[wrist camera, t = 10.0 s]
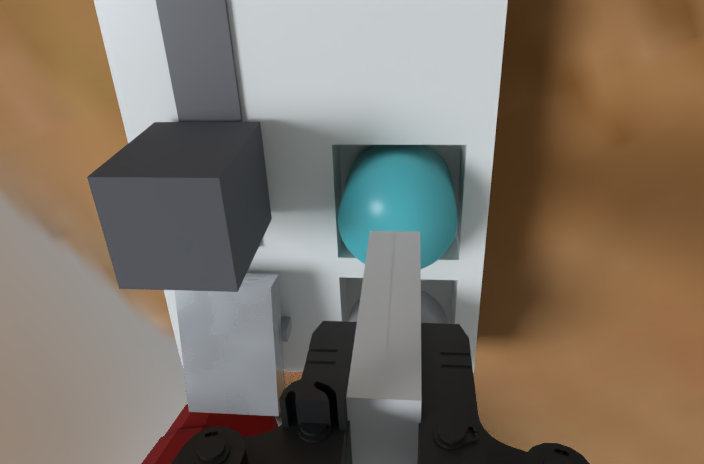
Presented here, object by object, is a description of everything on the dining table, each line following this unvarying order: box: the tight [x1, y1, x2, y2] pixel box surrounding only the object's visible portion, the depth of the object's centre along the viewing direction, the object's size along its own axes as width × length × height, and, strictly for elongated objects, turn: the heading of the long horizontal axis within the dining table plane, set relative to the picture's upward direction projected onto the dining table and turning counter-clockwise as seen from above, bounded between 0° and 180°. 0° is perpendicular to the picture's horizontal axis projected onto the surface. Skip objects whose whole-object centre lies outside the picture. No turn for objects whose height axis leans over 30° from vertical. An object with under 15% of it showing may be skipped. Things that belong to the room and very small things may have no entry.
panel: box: [94, 0, 508, 374], centre depth 23 cm, size 22×14×4 cm, turn 2°
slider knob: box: [87, 122, 272, 292], centre depth 20 cm, size 4×4×5 cm
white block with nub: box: [175, 273, 285, 416], centre depth 24 cm, size 6×4×1 cm, turn 2°
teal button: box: [338, 145, 457, 269], centre depth 22 cm, size 4×4×3 cm
